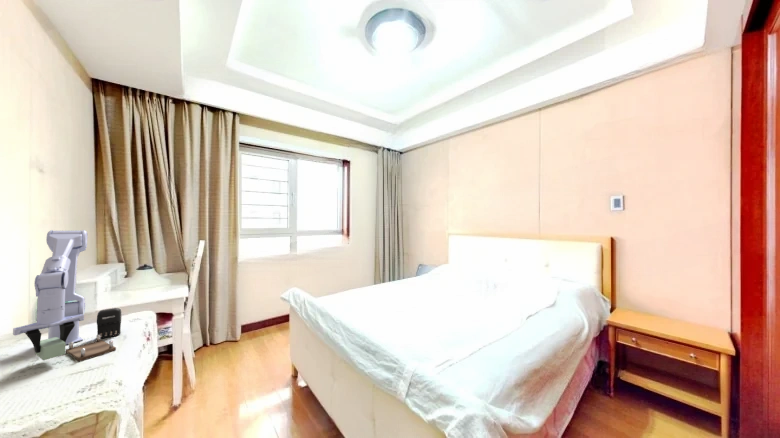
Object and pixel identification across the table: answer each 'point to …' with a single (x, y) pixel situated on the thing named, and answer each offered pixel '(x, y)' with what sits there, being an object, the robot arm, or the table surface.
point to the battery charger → (109, 322)
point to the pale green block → (51, 348)
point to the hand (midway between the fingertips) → (50, 348)
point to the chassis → (90, 349)
